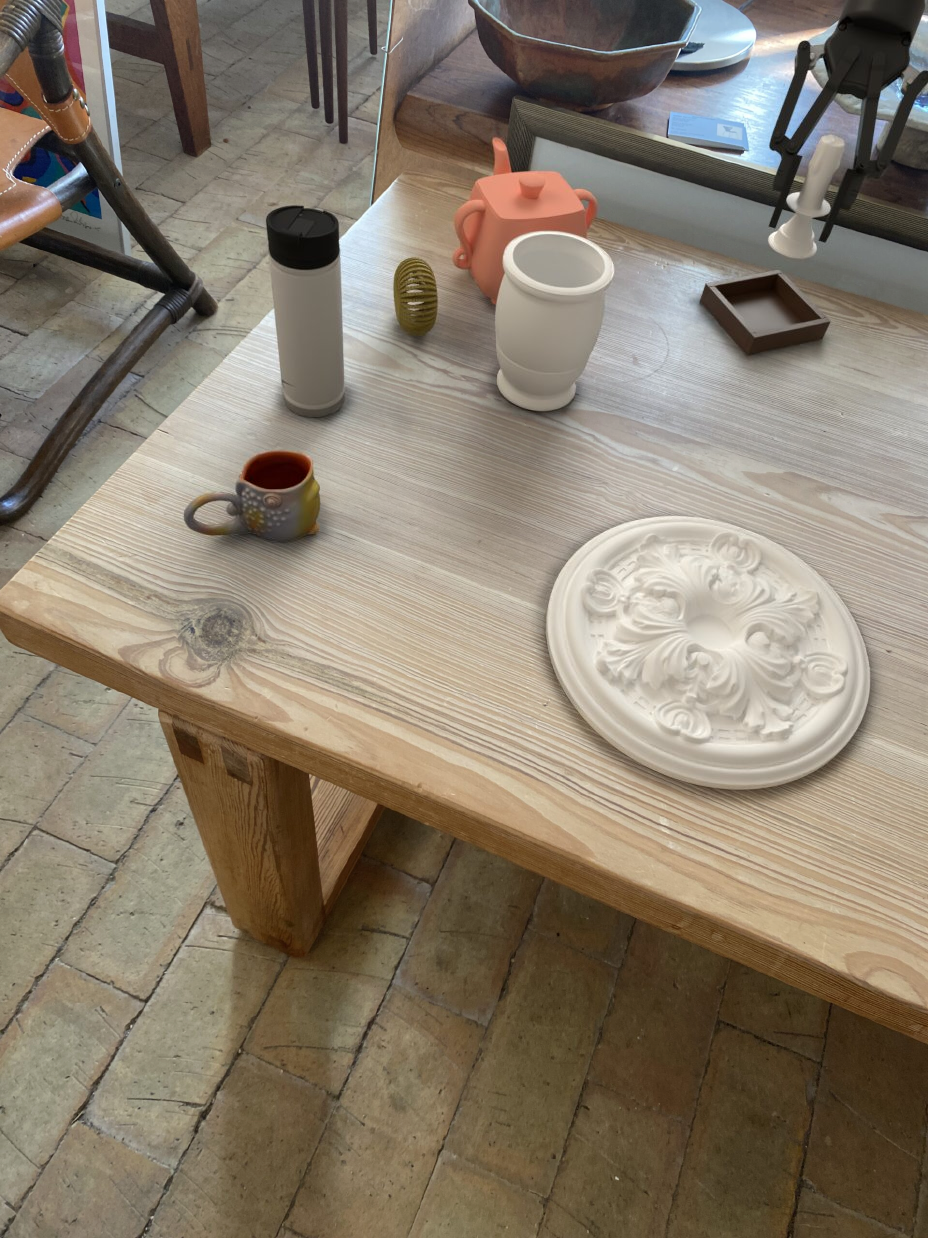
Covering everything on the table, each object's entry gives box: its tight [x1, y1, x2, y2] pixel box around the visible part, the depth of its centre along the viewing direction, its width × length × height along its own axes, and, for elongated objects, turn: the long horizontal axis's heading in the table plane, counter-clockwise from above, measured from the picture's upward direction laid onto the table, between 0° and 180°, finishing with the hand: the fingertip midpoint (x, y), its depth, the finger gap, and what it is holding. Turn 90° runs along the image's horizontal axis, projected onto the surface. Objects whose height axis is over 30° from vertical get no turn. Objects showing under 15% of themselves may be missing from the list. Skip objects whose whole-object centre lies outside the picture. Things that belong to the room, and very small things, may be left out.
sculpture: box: [392, 256, 439, 337], centre depth 98 cm, size 8×4×8 cm, turn 13°
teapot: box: [452, 137, 599, 306], centre depth 103 cm, size 15×17×13 cm
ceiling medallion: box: [545, 515, 871, 791], centre depth 78 cm, size 28×28×3 cm
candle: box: [767, 134, 846, 260], centre depth 95 cm, size 5×5×12 cm
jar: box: [494, 231, 615, 412], centre depth 91 cm, size 11×10×15 cm
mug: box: [183, 449, 321, 543], centre depth 80 cm, size 12×7×7 cm, turn 113°
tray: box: [699, 269, 832, 357], centre depth 107 cm, size 11×11×2 cm
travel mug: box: [265, 204, 346, 418], centre depth 85 cm, size 6×7×20 cm
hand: (798, 229), depth 95 cm, fingers closed on candle, 5 cm apart
